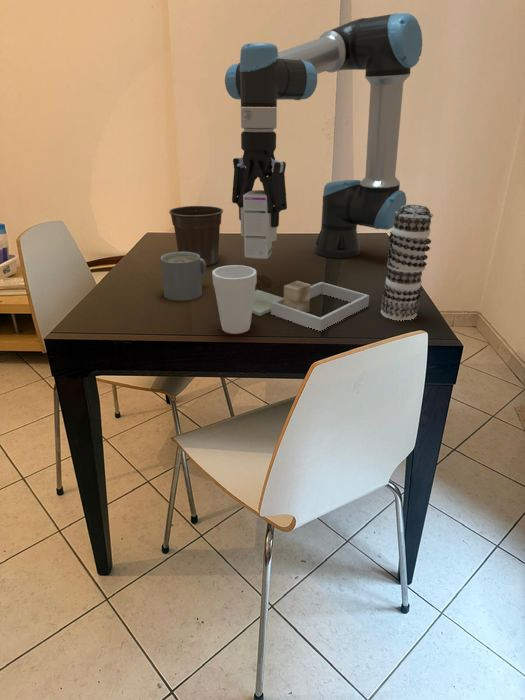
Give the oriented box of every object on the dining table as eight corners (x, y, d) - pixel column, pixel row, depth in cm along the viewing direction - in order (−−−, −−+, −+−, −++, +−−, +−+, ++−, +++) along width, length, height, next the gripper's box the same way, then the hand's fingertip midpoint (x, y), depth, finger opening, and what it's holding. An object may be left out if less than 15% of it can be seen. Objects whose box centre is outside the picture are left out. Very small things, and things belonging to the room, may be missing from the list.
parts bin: (320, 292, 124) (321, 281, 123) (368, 306, 115) (369, 295, 114) (270, 314, 111) (270, 302, 110) (320, 332, 102) (321, 319, 101)
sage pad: (257, 292, 124) (257, 289, 123) (289, 303, 117) (289, 300, 117) (227, 303, 117) (227, 300, 116) (260, 315, 110) (260, 312, 110)
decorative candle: (371, 314, 111) (384, 207, 99) (390, 303, 117) (404, 201, 105) (407, 325, 106) (425, 213, 94) (424, 313, 112) (444, 206, 100)
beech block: (296, 307, 115) (297, 280, 112) (309, 311, 112) (310, 284, 109) (283, 313, 112) (283, 285, 108) (296, 318, 109) (297, 289, 106)
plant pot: (191, 252, 158) (188, 203, 150) (233, 258, 152) (232, 207, 144) (163, 265, 145) (158, 212, 137) (207, 272, 139) (204, 217, 131)
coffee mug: (177, 304, 116) (173, 265, 112) (157, 293, 123) (153, 256, 118) (220, 291, 124) (218, 255, 120) (199, 282, 131) (196, 247, 126)
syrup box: (268, 259, 108) (269, 194, 101) (243, 257, 109) (242, 193, 102) (272, 252, 113) (273, 190, 106) (248, 251, 114) (248, 189, 107)
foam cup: (215, 319, 108) (212, 265, 102) (254, 318, 109) (254, 264, 103) (215, 337, 100) (212, 279, 94) (258, 336, 100) (257, 278, 94)
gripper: (213, 129, 102) (217, 233, 113) (283, 132, 90) (281, 249, 101) (237, 128, 107) (239, 228, 118) (307, 131, 95) (302, 242, 105)
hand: (258, 237), depth 109 cm, fingers closed on syrup box, 7 cm apart
